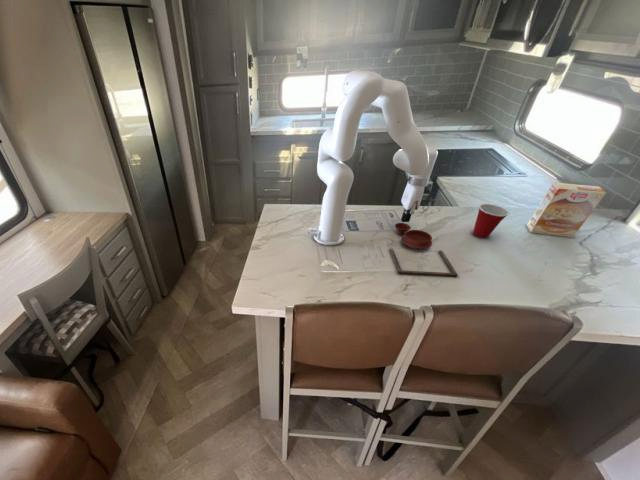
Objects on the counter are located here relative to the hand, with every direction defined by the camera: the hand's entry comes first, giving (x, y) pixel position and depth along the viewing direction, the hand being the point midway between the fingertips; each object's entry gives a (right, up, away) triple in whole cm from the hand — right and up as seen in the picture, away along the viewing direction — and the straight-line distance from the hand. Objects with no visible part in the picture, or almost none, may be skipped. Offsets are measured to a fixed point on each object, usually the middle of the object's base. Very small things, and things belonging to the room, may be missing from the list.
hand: (404, 221), depth 142 cm
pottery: (-2, -10, -7) cm, 12 cm away
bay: (-4, -21, -20) cm, 29 cm away
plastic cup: (+30, -8, -6) cm, 31 cm away
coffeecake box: (+59, -6, -6) cm, 60 cm away
